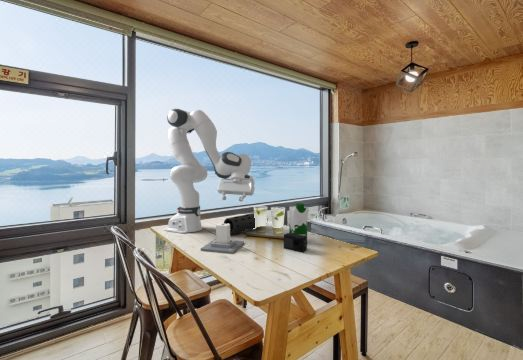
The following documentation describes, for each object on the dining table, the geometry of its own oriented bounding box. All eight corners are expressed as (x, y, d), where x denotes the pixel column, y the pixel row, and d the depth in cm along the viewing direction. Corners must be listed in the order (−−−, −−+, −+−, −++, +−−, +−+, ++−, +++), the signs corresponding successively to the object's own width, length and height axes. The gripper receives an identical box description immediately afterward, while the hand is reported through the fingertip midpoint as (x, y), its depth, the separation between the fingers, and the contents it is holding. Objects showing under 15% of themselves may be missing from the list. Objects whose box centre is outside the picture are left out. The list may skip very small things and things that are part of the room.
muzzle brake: (223, 234, 157) (223, 216, 156) (257, 225, 177) (257, 209, 176) (234, 237, 151) (234, 219, 150) (268, 228, 171) (268, 211, 170)
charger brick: (216, 245, 133) (216, 224, 132) (219, 243, 137) (219, 222, 136) (226, 246, 132) (226, 225, 131) (230, 244, 136) (229, 223, 135)
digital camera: (281, 249, 131) (282, 234, 131) (287, 246, 136) (287, 232, 135) (301, 253, 125) (301, 238, 125) (306, 250, 130) (307, 236, 129)
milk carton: (293, 244, 139) (293, 205, 137) (287, 239, 147) (287, 202, 146) (309, 243, 141) (310, 204, 139) (302, 238, 150) (302, 201, 148)
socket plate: (200, 250, 129) (200, 245, 129) (215, 240, 144) (215, 236, 144) (232, 253, 125) (232, 248, 125) (244, 243, 140) (244, 238, 140)
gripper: (219, 175, 152) (211, 195, 144) (254, 176, 147) (248, 198, 139) (223, 181, 157) (215, 202, 149) (257, 183, 152) (251, 204, 143)
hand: (232, 200), depth 144 cm, fingers open, 8 cm apart
